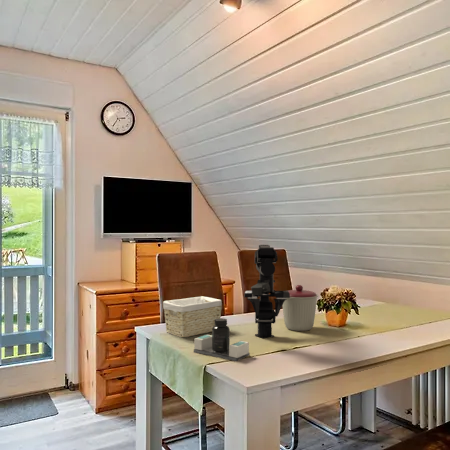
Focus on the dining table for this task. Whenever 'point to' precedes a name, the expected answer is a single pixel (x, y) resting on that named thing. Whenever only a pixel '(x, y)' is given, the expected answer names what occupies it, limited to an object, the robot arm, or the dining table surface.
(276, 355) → the dining table surface
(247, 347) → the module pair
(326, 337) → the dining table surface
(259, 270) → the robot arm
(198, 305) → the storage basket
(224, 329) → the supplement bottle
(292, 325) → the canister
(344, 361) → the dining table surface
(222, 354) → the rail plate
